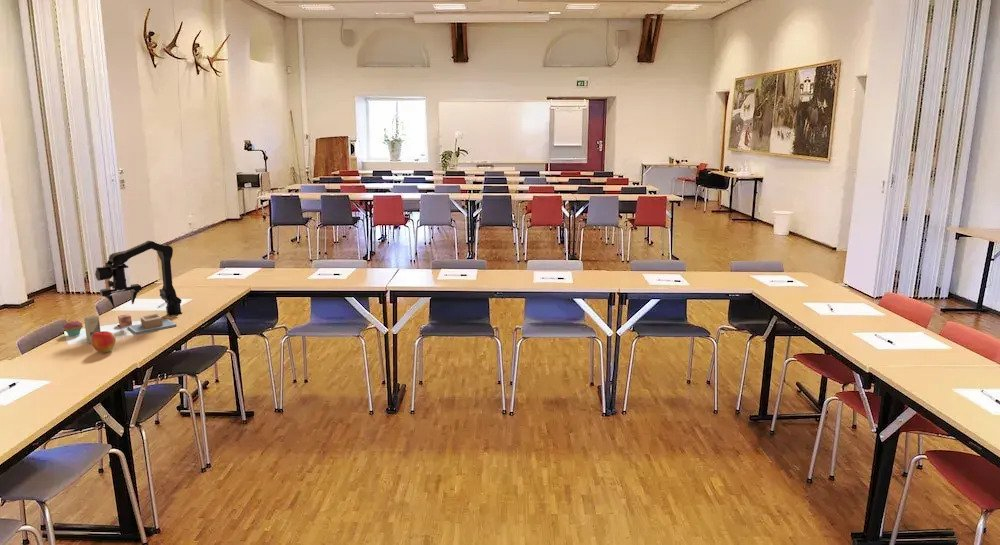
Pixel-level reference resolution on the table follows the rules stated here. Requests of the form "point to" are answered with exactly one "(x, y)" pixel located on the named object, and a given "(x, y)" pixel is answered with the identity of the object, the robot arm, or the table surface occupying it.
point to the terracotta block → (124, 320)
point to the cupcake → (72, 327)
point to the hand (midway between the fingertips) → (123, 305)
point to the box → (91, 327)
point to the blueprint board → (139, 328)
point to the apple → (103, 341)
